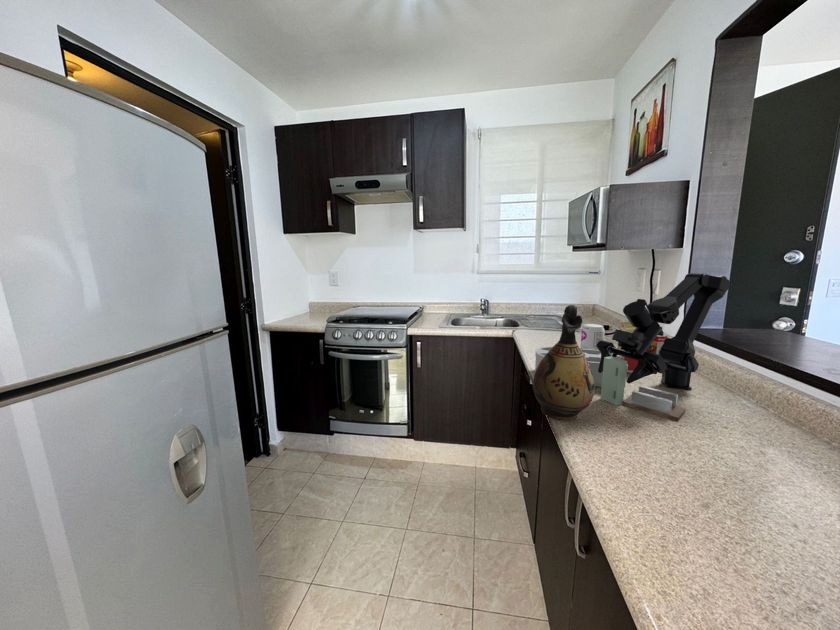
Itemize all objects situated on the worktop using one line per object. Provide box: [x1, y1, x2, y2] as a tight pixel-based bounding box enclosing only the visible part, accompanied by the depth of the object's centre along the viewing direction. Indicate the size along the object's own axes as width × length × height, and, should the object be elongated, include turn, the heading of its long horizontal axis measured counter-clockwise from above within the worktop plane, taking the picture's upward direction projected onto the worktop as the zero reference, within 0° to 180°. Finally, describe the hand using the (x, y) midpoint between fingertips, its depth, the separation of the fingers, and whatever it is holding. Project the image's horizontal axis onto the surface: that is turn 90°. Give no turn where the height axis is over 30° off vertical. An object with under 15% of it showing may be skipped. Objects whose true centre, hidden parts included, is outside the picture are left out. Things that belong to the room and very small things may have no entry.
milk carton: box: [617, 320, 638, 373], centre depth 122 cm, size 9×9×20 cm
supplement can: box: [579, 323, 606, 350], centre depth 132 cm, size 8×8×15 cm
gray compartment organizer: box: [534, 346, 628, 388], centre depth 116 cm, size 17×28×9 cm, turn 69°
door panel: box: [600, 356, 627, 406], centre depth 95 cm, size 3×5×13 cm, turn 22°
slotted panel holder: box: [621, 385, 687, 422], centre depth 91 cm, size 13×8×4 cm, turn 40°
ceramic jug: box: [532, 304, 595, 421], centre depth 88 cm, size 17×15×30 cm
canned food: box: [646, 332, 669, 354], centre depth 129 cm, size 8×8×12 cm
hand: (612, 377), depth 95 cm, fingers open, 9 cm apart
